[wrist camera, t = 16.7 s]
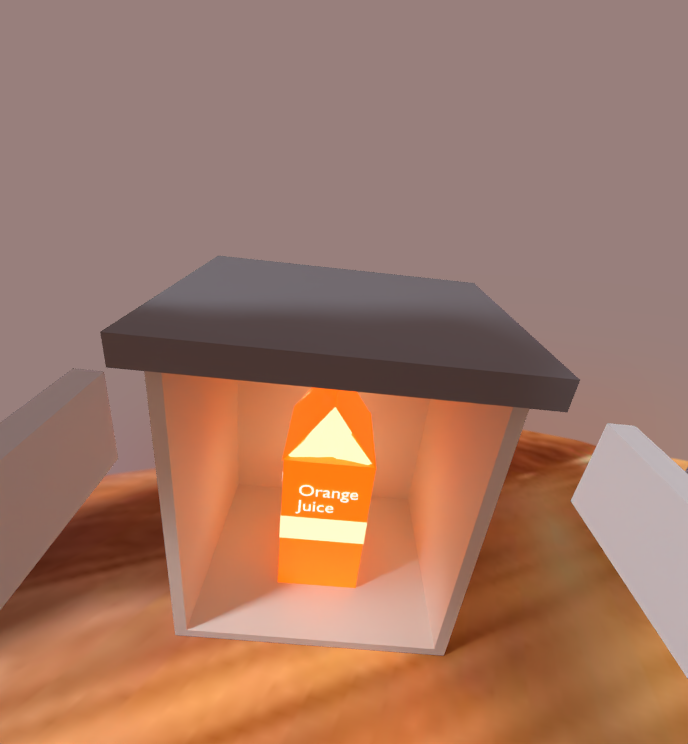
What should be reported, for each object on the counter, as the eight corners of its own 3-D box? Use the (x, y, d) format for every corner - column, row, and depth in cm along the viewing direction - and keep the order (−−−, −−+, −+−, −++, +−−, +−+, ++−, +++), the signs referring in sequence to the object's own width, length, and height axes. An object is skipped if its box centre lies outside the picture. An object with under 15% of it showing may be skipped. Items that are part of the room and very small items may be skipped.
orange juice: (355, 519, 48) (379, 362, 39) (356, 589, 40) (387, 411, 31) (287, 513, 48) (296, 354, 39) (275, 582, 40) (283, 401, 31)
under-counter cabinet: (153, 659, 33) (100, 332, 21) (224, 482, 52) (218, 255, 40) (460, 682, 34) (579, 379, 22) (421, 499, 53) (473, 283, 41)
